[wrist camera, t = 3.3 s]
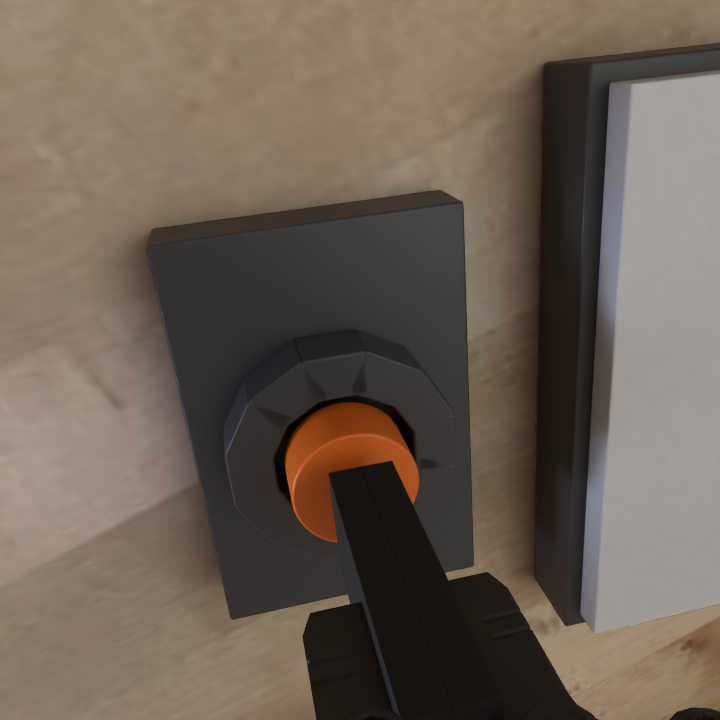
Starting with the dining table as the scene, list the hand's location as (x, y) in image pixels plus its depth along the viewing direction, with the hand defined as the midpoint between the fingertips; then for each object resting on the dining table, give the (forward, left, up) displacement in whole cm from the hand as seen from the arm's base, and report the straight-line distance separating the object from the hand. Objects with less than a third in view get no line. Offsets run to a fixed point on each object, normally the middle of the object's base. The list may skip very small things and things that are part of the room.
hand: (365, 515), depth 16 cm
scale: (0, +15, -6) cm, 16 cm away
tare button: (0, 0, -3) cm, 3 cm away
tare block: (0, 0, -6) cm, 6 cm away
